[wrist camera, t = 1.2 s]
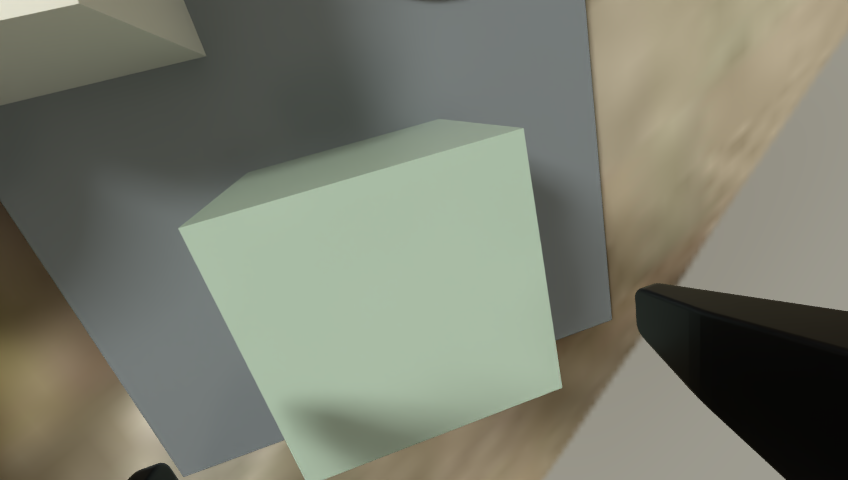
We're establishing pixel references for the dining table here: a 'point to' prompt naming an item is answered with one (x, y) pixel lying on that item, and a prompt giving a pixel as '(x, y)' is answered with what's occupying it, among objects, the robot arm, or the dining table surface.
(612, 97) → the dining table surface
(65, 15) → the ivory cube
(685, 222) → the dining table surface
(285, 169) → the frosted jade cube
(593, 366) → the dining table surface
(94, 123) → the slate board
